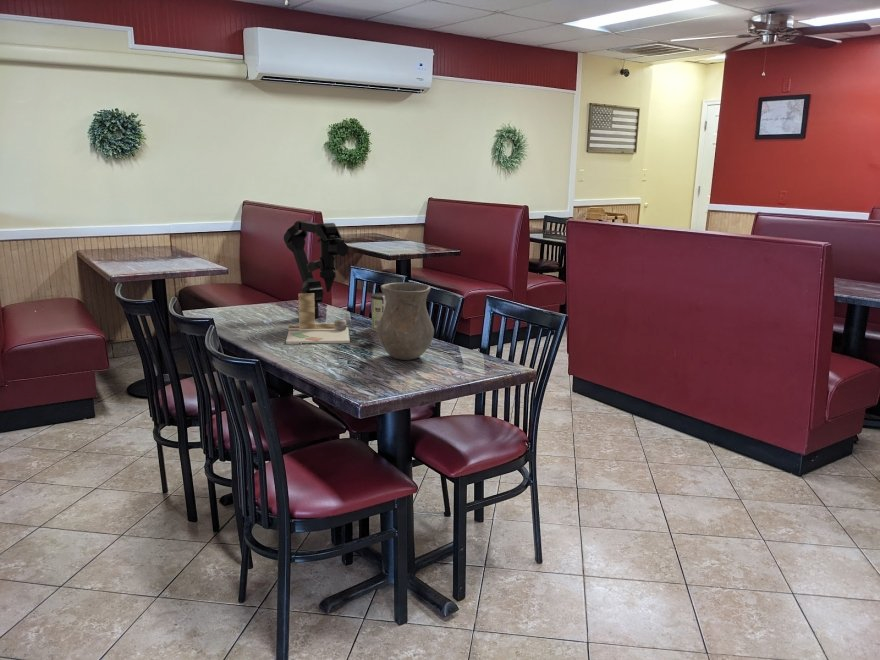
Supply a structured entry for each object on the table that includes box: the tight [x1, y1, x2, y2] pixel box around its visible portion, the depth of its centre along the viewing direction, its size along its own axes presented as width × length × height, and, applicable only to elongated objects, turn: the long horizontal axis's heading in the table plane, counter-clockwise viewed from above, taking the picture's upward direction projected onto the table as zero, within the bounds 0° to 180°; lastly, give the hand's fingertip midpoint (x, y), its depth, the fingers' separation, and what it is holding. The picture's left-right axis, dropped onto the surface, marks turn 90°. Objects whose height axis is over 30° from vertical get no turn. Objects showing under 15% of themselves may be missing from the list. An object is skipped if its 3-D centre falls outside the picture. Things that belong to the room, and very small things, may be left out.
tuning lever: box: [288, 292, 347, 330], centre depth 270 cm, size 22×4×14 cm, turn 99°
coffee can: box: [370, 292, 384, 332], centre depth 278 cm, size 10×10×14 cm
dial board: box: [285, 326, 351, 345], centre depth 265 cm, size 23×22×1 cm
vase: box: [376, 281, 435, 361], centre depth 236 cm, size 20×19×25 cm
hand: (328, 291), depth 287 cm, fingers closed
